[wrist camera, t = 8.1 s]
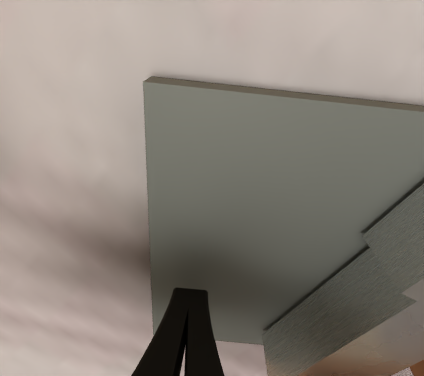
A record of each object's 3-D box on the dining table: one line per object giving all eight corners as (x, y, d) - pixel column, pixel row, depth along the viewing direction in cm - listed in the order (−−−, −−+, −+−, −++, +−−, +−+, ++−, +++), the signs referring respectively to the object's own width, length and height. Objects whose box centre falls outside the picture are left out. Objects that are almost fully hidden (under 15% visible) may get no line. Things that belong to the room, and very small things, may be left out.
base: (606, 125, 8) (1122, 251, 4) (411, 340, 15) (499, 485, 10) (151, 76, 8) (47, 142, 3) (157, 317, 15) (125, 456, 10)
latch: (475, 139, 8) (571, 181, 6) (557, 202, 9) (666, 258, 7) (251, 329, 13) (256, 387, 11) (317, 354, 14) (334, 412, 12)
